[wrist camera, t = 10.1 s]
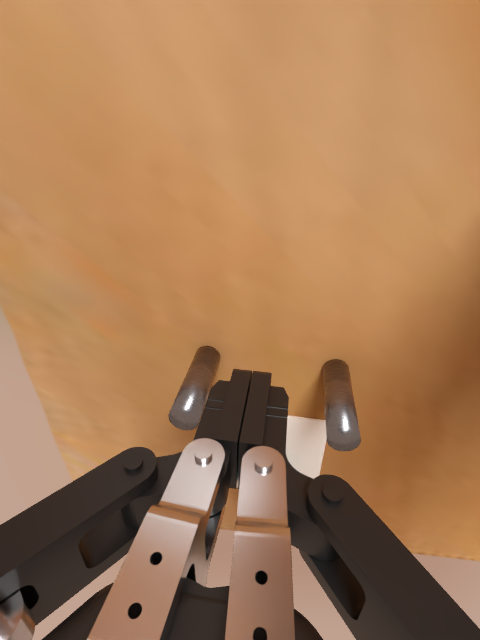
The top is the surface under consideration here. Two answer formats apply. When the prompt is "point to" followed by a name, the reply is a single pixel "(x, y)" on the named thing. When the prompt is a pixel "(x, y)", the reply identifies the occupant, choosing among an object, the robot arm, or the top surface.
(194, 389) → the post
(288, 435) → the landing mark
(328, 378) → the post
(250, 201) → the top surface
